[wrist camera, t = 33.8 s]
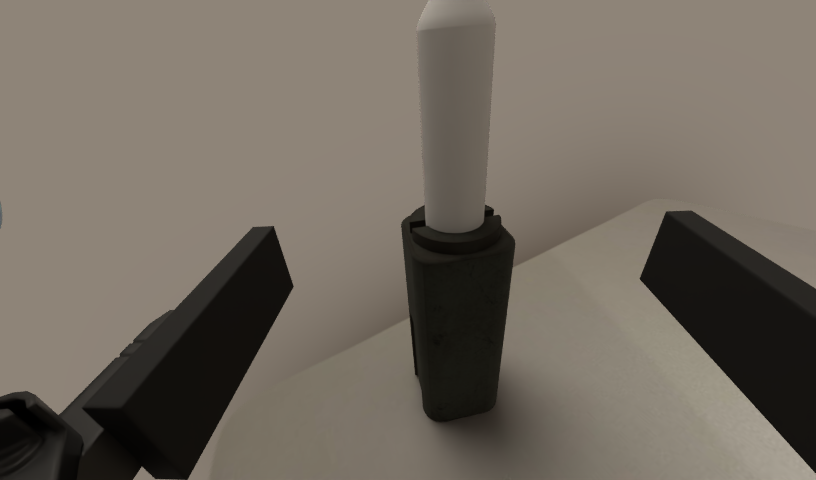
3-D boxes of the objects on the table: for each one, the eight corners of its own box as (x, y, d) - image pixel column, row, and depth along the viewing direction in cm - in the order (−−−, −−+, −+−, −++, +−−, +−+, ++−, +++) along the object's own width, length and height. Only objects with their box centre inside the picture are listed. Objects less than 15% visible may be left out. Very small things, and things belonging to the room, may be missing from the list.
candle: (411, 361, 25) (369, -78, 12) (474, 348, 26) (498, -82, 13) (427, 425, 21) (386, -150, 8) (502, 408, 21) (582, -152, 8)
